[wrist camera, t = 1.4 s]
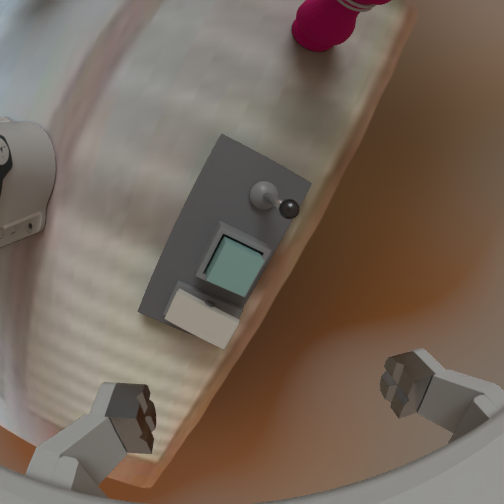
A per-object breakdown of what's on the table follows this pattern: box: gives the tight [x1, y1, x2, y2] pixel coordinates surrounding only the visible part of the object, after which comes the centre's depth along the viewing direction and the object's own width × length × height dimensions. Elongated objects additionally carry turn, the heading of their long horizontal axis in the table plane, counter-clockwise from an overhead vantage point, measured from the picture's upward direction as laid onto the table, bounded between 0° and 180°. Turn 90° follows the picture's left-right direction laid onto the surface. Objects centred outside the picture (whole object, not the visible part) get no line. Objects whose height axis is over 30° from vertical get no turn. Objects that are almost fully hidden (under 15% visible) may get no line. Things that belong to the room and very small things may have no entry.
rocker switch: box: [165, 288, 240, 349], centre depth 34 cm, size 4×8×2 cm, turn 62°
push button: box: [206, 236, 264, 297], centre depth 31 cm, size 4×4×3 cm
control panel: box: [138, 134, 312, 336], centre depth 35 cm, size 24×12×6 cm, turn 152°
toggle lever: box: [263, 192, 299, 219], centre depth 30 cm, size 2×2×6 cm
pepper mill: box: [292, 0, 391, 52], centre depth 21 cm, size 7×7×20 cm
